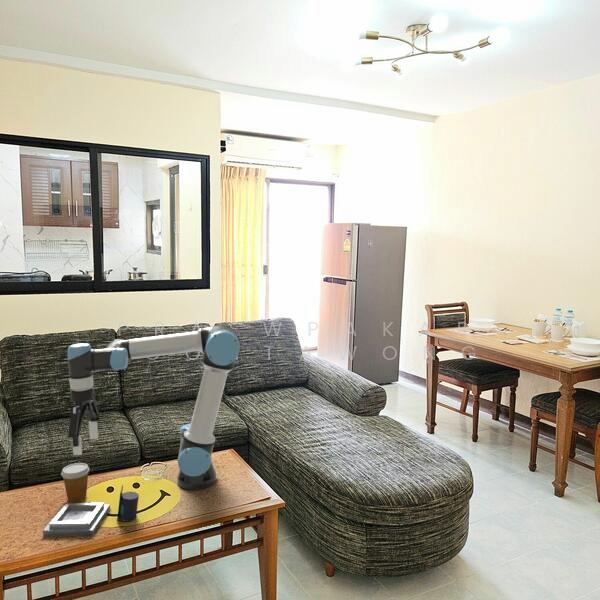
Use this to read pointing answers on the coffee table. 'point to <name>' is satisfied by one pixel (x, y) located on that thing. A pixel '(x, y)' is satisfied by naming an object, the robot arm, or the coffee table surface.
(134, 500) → the speaker
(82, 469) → the disposable coffee cup
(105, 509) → the white square tray
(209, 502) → the coffee table surface
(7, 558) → the coffee table surface
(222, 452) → the coffee table surface
